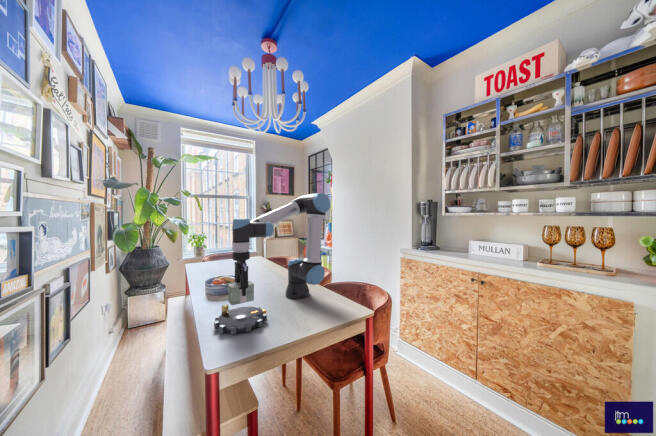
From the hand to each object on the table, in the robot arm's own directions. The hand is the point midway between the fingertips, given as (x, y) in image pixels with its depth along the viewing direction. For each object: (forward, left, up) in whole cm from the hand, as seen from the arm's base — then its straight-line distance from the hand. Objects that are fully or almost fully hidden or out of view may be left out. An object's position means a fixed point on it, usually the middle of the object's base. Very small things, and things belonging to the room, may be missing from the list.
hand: (241, 300), depth 106 cm
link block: (0, 0, 0) cm, 0 cm away
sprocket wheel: (0, 0, -11) cm, 11 cm away
